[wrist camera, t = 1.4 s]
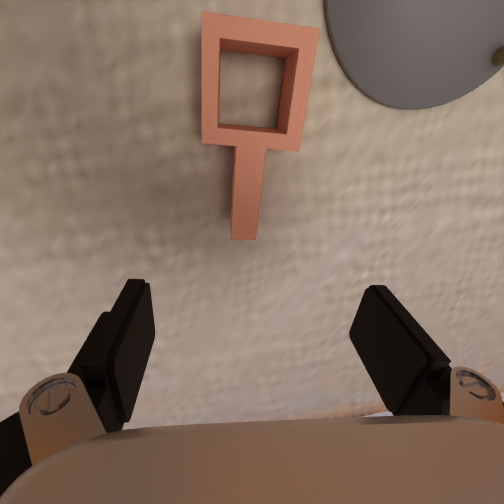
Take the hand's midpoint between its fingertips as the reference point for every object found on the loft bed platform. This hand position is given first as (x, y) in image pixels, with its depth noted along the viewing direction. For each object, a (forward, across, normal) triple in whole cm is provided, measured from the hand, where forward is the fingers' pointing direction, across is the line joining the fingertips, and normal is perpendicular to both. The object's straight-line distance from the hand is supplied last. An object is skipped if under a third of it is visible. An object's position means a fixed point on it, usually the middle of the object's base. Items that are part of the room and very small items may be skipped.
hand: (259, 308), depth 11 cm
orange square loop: (+14, 0, -5) cm, 15 cm away
